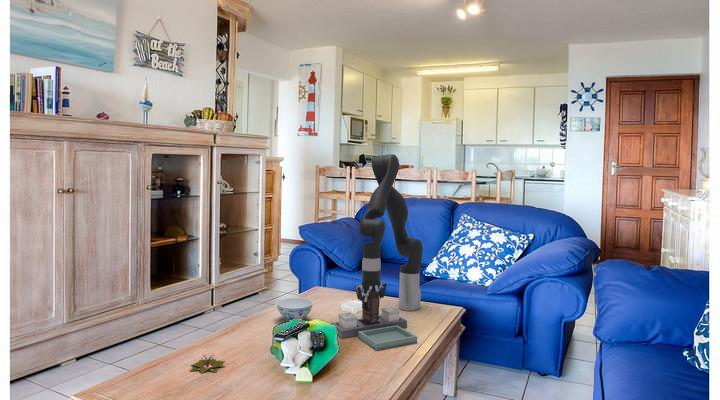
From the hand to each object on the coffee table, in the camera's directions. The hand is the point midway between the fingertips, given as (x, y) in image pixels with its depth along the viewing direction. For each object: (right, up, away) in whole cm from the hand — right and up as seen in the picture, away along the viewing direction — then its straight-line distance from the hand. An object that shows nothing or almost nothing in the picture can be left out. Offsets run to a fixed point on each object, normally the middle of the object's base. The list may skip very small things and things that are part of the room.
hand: (370, 309), depth 196 cm
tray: (+6, -9, -12) cm, 16 cm away
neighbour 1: (-9, -8, -4) cm, 13 cm away
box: (0, -5, 0) cm, 5 cm away
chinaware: (-32, -7, +8) cm, 34 cm away
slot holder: (-1, -8, +1) cm, 8 cm away
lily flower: (-54, -11, -39) cm, 67 cm away
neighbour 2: (+8, -8, +5) cm, 13 cm away
